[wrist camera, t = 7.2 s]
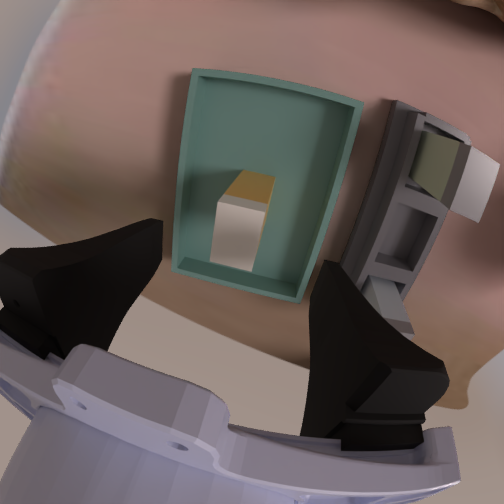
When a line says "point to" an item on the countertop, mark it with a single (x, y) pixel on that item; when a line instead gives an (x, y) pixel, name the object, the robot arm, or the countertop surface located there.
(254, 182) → the block
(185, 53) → the countertop surface
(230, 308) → the countertop surface
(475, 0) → the ceramic bowl
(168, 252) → the countertop surface
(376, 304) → the grey rectangular block
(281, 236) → the parts tray
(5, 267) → the robot arm
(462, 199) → the block
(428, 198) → the fuse holder
